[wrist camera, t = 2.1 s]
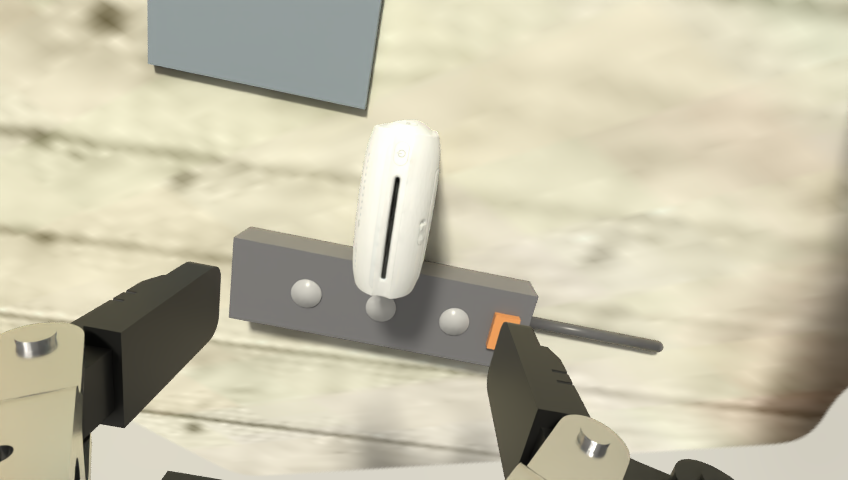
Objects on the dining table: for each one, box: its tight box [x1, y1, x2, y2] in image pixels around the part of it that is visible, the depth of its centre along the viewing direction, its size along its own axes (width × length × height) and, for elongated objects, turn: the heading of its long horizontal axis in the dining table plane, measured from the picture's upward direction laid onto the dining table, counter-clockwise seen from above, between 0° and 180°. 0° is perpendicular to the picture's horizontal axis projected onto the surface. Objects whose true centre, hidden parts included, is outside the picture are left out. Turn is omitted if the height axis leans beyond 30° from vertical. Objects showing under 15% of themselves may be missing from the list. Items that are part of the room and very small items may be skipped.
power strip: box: [229, 227, 663, 366], centre depth 34 cm, size 7×37×4 cm, turn 79°
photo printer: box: [353, 119, 440, 299], centre depth 26 cm, size 10×4×12 cm, turn 170°
